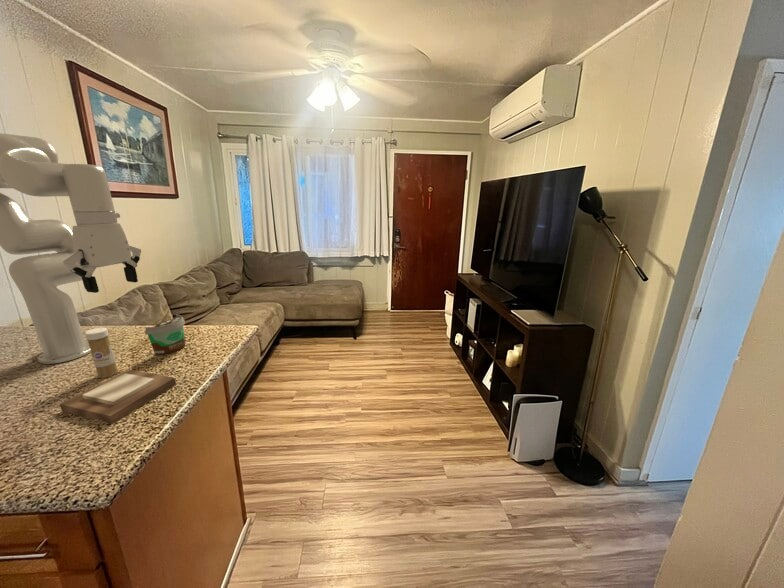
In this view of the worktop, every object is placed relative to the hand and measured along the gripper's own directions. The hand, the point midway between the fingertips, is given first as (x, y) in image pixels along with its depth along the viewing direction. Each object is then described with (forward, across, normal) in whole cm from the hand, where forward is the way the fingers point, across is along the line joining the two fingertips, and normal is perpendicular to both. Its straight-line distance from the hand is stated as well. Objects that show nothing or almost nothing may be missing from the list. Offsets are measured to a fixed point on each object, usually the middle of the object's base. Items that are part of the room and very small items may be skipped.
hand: (113, 286), depth 84 cm
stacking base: (+26, +9, +7) cm, 28 cm away
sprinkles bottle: (+26, +2, -8) cm, 27 cm away
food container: (+26, -15, -2) cm, 30 cm away
